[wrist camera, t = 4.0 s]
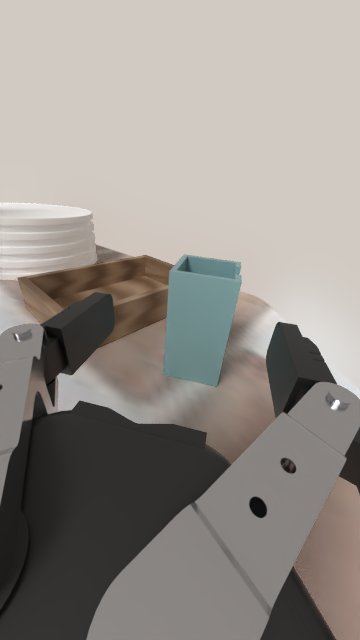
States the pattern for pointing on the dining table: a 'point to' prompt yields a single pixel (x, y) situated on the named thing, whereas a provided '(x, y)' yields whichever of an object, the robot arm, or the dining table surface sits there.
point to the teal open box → (199, 317)
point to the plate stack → (44, 239)
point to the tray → (104, 291)
